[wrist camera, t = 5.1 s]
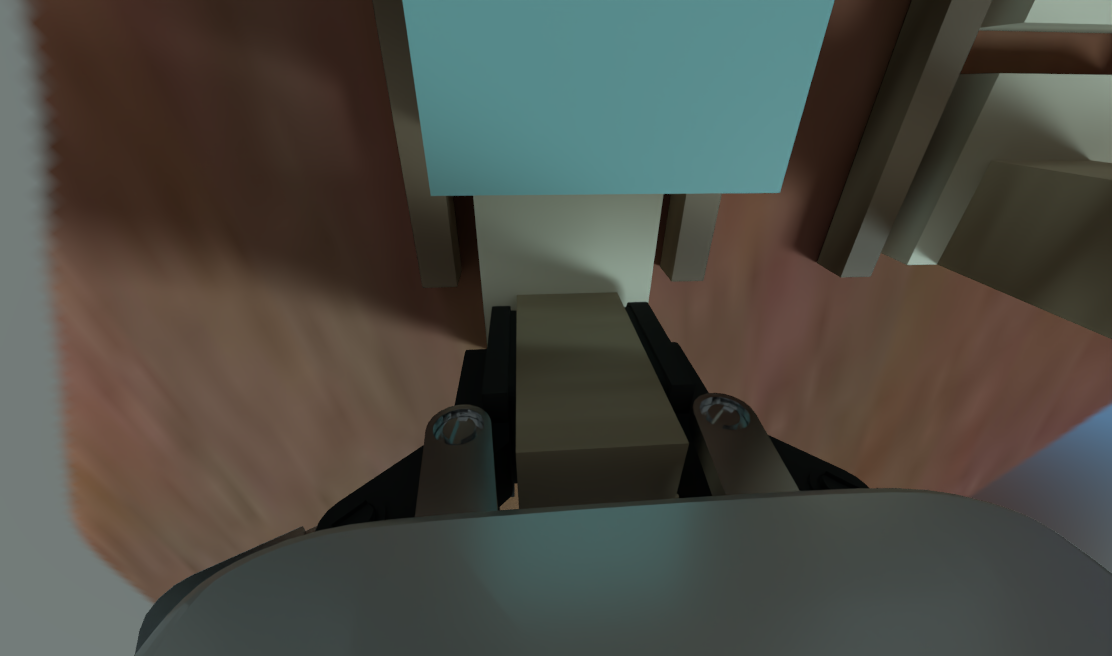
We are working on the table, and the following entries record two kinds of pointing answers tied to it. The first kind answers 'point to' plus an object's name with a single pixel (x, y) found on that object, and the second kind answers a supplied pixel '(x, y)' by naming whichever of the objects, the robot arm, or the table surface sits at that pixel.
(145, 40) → the table surface
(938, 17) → the walnut lane rails
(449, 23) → the teal block
